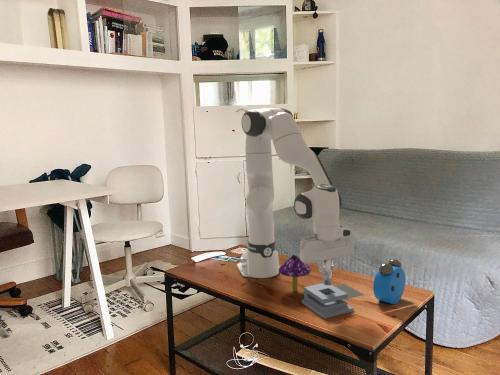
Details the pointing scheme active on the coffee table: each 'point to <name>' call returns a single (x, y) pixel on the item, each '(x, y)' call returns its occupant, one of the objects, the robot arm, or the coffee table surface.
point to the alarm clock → (389, 282)
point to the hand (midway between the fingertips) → (327, 271)
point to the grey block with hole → (326, 300)
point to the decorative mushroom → (294, 270)
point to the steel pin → (327, 272)
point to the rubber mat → (349, 291)
